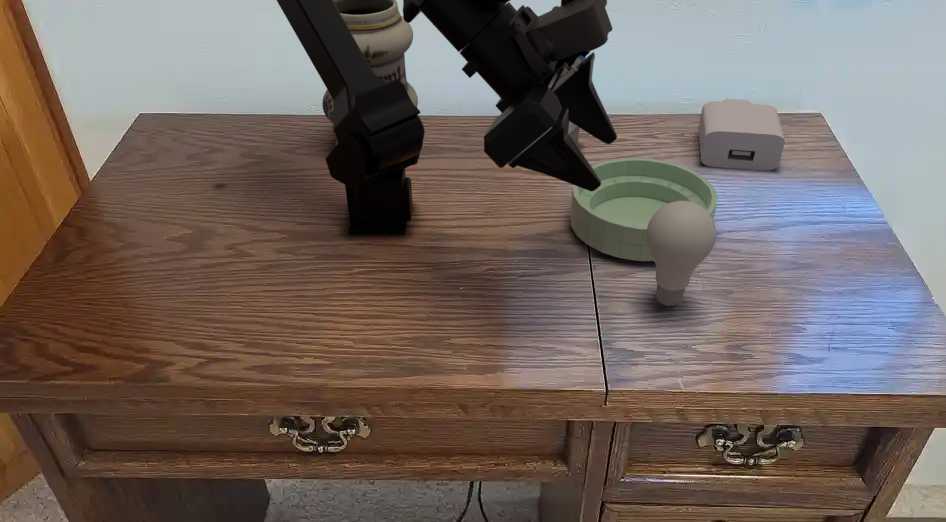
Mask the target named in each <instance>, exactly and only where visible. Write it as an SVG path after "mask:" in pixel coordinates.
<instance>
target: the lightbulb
mask: <svg viewBox="0 0 946 522" xmlns="http://www.w3.org/2000/svg"><path fill="white" fill-rule="evenodd" d="M646 237H647V244H648V247H649V249H650V252H651V254H652V256H653V258H654V261H653V262H654V264H655V282H656V290H655V298H656V300H657V302H658V303H659V304H662V305H663V306H664V307H674V306H677V305H679V304H681V303H682V301H683V299H684V296H685V291H686V288H687V287H688V286H689V284H690V281H691V278H692V275H693V274H694V271H695V270H696V268H697V267H698V266H700V264H701V263H703V261H704V260H705V259H706V258H707V257H708V256H709V255H710V253H711V252H712V249H713V248H714V246H715V244H716V238H717V228H716V224H715V220H713V219H712V217H711V216H710V214H709V213H708V212H707V210H705V209H704V208H703V207H701V206H700V205H698V204H696V203H693V202H690V201H675V202H671V203H668V204H666V205H664V206H663V207H661V208H660V209H659V210H658V211H657V212H656V213H655V214H654V215H653V217H652V218H651V220H650V222H649V224H648V227H647V233H646Z"/></svg>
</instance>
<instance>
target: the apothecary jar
mask: <svg viewBox="0 0 946 522" xmlns="http://www.w3.org/2000/svg"><path fill="white" fill-rule="evenodd" d="M333 2H334V4H335V5H336V7H337V9H338V11H339V12H340V14H341V16H342V18H343V20H344V21H345V23H346V25H347V27H348V28H349V30H350V32H351V34H352V36H353V37H354V39H355V41H356V43H357V44H358V46H359V48H360V50H361V51H362V53H363V55H364V57H365V59H366V60H367V62H368V64H369V66H370V67H371V69H372V71H373V72H374V74H375V75H376V76H378V77H379V78H381V79H383V80H384V81H386V82H389V81H392V80H395V79H398V80H400V81H401V82H402V83H403V84H404V86H405V88H406V90H407V93H408V95H409V97H410V99H411V101H412V102H413V104H414V105H415V106H416V107H417V108H418V105H419V98H418V94H417V92H416V89H415V88H414V87H413V85H412V84H410V83H409V82H408V80H407V72H406V58H405V57H406V56H405V53H406V52H407V51H408V50H409V48H410V47H411V45H412V44H413V42H414V41H413V40H414V31H413V28H412V27H413V26H412V25H411V24H410V23H407V22H405V21H404V19H403V15H401V12H400V10H399V5H398V1H397V0H333ZM321 106H322V110H323V114H324V116H325V117H326V118H327V120H328V121H329V122H331V123H332V124H333V99H332V97H331V95H330V93H329V91H328V90H327V89H326V91H325V92H324V95H323V96H322V105H321ZM338 143H339V142H338V139H337V138H336V141H335V146H336V145H337V144H338Z"/></svg>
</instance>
